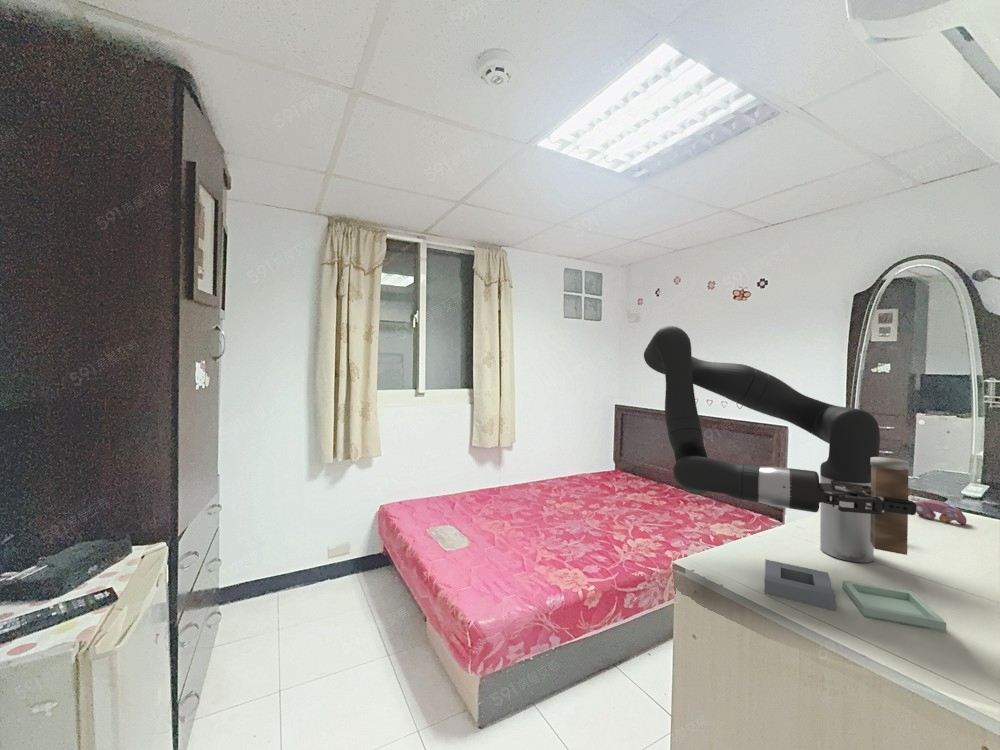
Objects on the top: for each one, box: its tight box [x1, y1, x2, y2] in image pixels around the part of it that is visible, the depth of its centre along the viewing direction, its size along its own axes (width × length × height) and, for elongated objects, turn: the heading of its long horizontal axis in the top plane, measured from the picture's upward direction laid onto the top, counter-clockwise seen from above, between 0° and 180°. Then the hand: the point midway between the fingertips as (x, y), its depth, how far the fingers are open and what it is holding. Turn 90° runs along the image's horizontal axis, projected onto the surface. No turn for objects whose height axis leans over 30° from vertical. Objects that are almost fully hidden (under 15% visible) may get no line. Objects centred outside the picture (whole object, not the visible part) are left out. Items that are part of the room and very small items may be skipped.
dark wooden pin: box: [870, 456, 910, 556], centre depth 70 cm, size 5×5×15 cm
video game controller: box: [913, 498, 967, 525], centre depth 114 cm, size 10×5×7 cm, turn 26°
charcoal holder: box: [764, 558, 836, 612], centre depth 76 cm, size 10×10×3 cm
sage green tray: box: [842, 579, 947, 633], centre depth 70 cm, size 10×10×2 cm
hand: (910, 504), depth 69 cm, fingers closed on dark wooden pin, 4 cm apart
